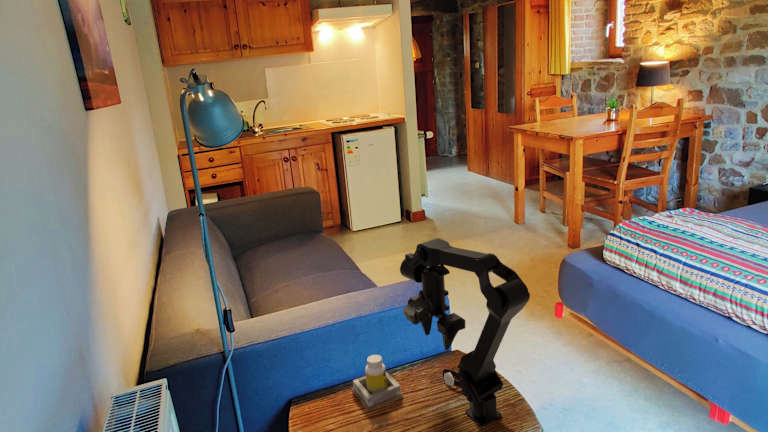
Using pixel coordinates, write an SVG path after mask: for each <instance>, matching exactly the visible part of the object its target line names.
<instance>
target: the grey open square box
mask: <svg viewBox="0 0 768 432" xmlns="http://www.w3.org/2000/svg"><path fill="white" fill-rule="evenodd" d="M386 379H387V388H385V389H383V390H380V391H378V392H375V393H373V394H369V393H368V392H367V383H366V375H364V376H361V377H357V378H356V379H353V380H352V386H353V387H352V388H351V389H352V391H351V392H353V394H354V395H355V396H356V398H357V399H358V400H359V401H360V403H361V404H362V405H363V406H364V408H365V409H366V410H367V412H371V411H374V410H376V409H378V408H381V407H383V406H385V405H386V406H387V405H388V404H390V403H391V404H392V403H393V402H395V401H397V400H401V399H403V396H404V395H403V393H402V391H401V384H399V383H398V382H397V381H396V380H395V379H394V378H393V377H392V376H391V374H389V373H388V372H387V371H386Z"/></svg>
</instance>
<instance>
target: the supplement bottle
mask: <svg viewBox="0 0 768 432" xmlns="http://www.w3.org/2000/svg"><path fill="white" fill-rule="evenodd" d="M366 364H367V365H366V366H365V367H364V368H365V369H364V370H365V372H364V373H365V376H366V383H367V392H368V393H369V394H373V393H375V392H378V391H380V390H383V389H385V388H387V379H386V372H387V370H386V365H385V363H383V357H382V356H381V355H380V354H372V355H369V356H368V357H367V359H366Z"/></svg>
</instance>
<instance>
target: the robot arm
mask: <svg viewBox="0 0 768 432" xmlns="http://www.w3.org/2000/svg"><path fill="white" fill-rule="evenodd" d="M404 257H405V258H404V259H403V260H402V262H401V264H400V267H399V272H400V274H401V276H403V277H404V278H406V279H409V280H411V281H413V282H415V283H421V287H422V289H421V290H419V292H418V295H416V296H411V297H410V298H409V299H408V300H407V304H406V305H405V306H404V307H402V312H403V314H404V315H405V318H406V321H409V322H410V323H411V324H413V325H415V326H416V325H418V324H419V323H420V324H421V327H422V330H423V332H424V335H425V336H429V335H430V333H431V330H432V323H433V318H436V319H438V320H437V321H436V328H437V329H436V331H437V332H439V333H440V334H441V336H442V337H441V338H442V343H443V347H444V350H445V351H448V350H450V348H451V347H452V344H453V342H454V341H455V338H456V336H457V334H458V333H459V331H462V330H465V329H466V319H465V318H463V317H461V316H460V315H458V314H457V313H455V312H452V313H450V314H447V313H446V311H449V310H450V305H448V304H447V303H446V301H447V300H446V296H447V297H448V296H449V291H448V290H447V289H445V288H446V287H445V284H446V283H445V276H446V275H449V274H450V273H451V272H450V270H449V269H448V268H447V267H452V268H455V269H459V270H461V271H462V270H463V271H467V272H470V273H474V274H475V275H476V276H477V278H478V283H479V289H480V292H481V294H482V295H483V297H484V298H485V299H486V308H487V311H488V315H487V318H486V321H485V322H484V326H483V328H482V330H481V332H480V335H479V337H478V340H477V343H476V345H475V348H474V350H472V351H469V352H467V353H466V354H464V355H462V356H461V358H460V360H459V364H458V365H457V369H458V370H457V373H458V378H459V379H458V381H459V382H460V385H461V387H460V388H461V391H462V392H461V393H462V394H463V396H464V397H466V401H467V402H469V407H468V408H466V409H464V410H465V411H464V412H465V413H466V414H467V415H468V416H469V417H470V418H471V419H472V420H473V421H474V422H475V423H477V424H478V425H479V426H481V427H483V426H485V425H487V424H490V423H491V422H494V421H495V420H497V419H500V418H501V417H503V415H502V413H501V412H500V411H499V410H497V396H496V393H498V392H500V391H501V390H503V387H504V382H503V381H502V379H501V378H500V375H499V374H498V373H497V371H496V368H497V365H496V363H495V361H494V359H495V357H496V354H497V352H498V350H499V347H500V345H501V343H502V341H503V339H504V336H505V334H506V332H507V330H508V328H509V325H510V323H511V321H512V319H514V317H516V315H517V314H518V313H520V312H521V311H522V310H523V309H524V307H525V306H526V305H527V304H528V303H529V300H530V298H531V294H530V292H529V288H528V287H527V285H526V284H525V282H524V280H522V279H521V277H520V276H519V274H518V273H517V272H516V271H515V270H514V269H512V268H511V267H509V266H507V265H506V264H504V263H502V261H501V260H500V259H499V258H498V256H497V255H495V254H494V253H490V252H488V253H485V252H480V251H475V250H470V249H464V248H459V247H454V246H452V245H450V243H449V242H448V241H447V240H444V239H441V238H439V237H437V238H433V239H429V240H427V241H424V242H423V241H422V243H421V242H420V243H418V244H416V249H415V251H414V253H413V252H409V253H406V254H404ZM446 266H447V267H446ZM490 273H492V274H494V275H496V276H498V277H499V278H500V279H502V280H503V281H505V282H503V283H501V284H498V285H497V286H494V285H493V284H492V282H491V279H490V275H489V274H490Z"/></svg>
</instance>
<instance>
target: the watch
mask: <svg viewBox="0 0 768 432" xmlns="http://www.w3.org/2000/svg"><path fill="white" fill-rule="evenodd" d="M453 376H455V377H457V378H458V371H455V370H452V369H448V368H444V369H442V378H443V380H444V383H445V384H446V385H447V386H455V387H457V388H461V385H460V382H459V378H458V379H457V378H456V379H455V377H453Z"/></svg>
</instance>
